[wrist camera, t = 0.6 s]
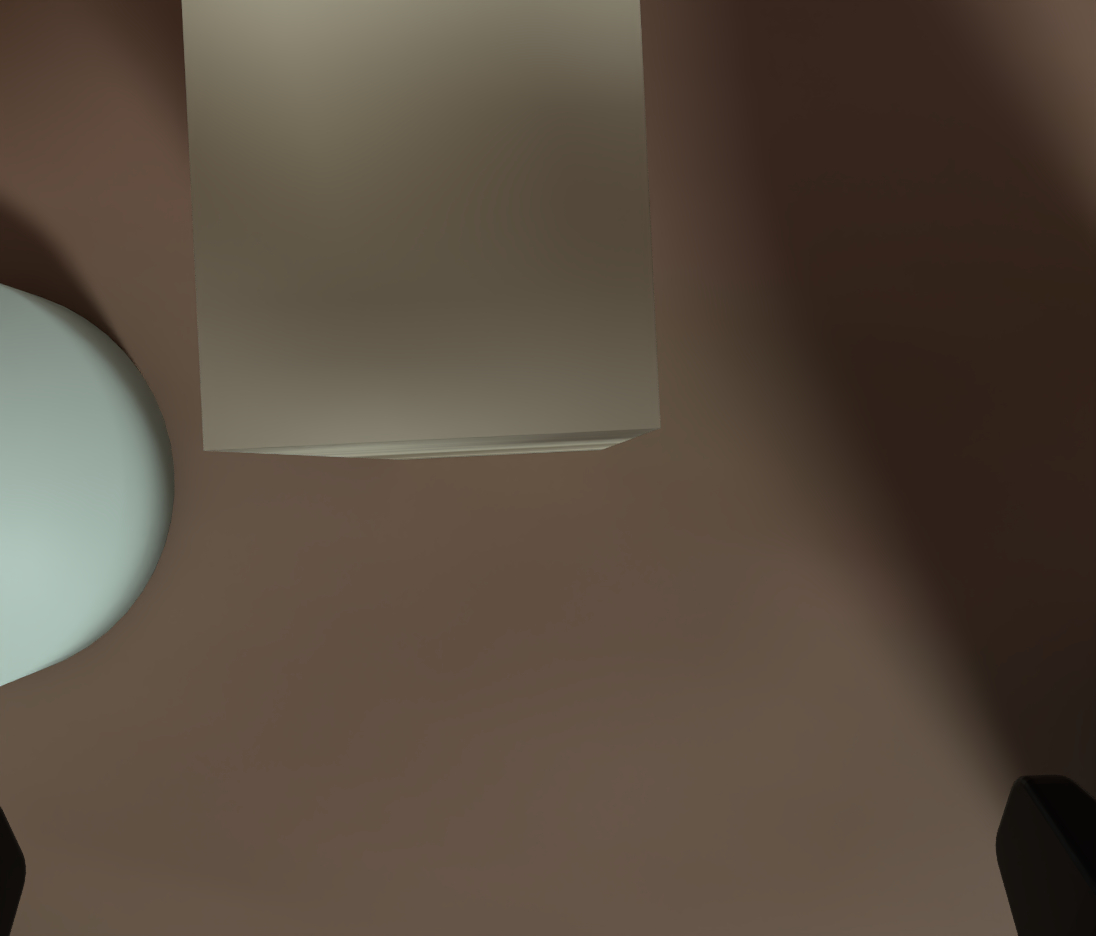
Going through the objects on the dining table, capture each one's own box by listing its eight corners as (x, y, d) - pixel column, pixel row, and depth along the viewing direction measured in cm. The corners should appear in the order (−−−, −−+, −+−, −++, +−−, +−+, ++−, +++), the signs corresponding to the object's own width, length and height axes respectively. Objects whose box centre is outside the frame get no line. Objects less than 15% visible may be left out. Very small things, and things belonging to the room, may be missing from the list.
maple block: (601, 449, 23) (660, 428, 10) (399, 459, 23) (202, 450, 10) (591, 247, 23) (638, -31, 10) (390, 258, 23) (181, -7, 10)
